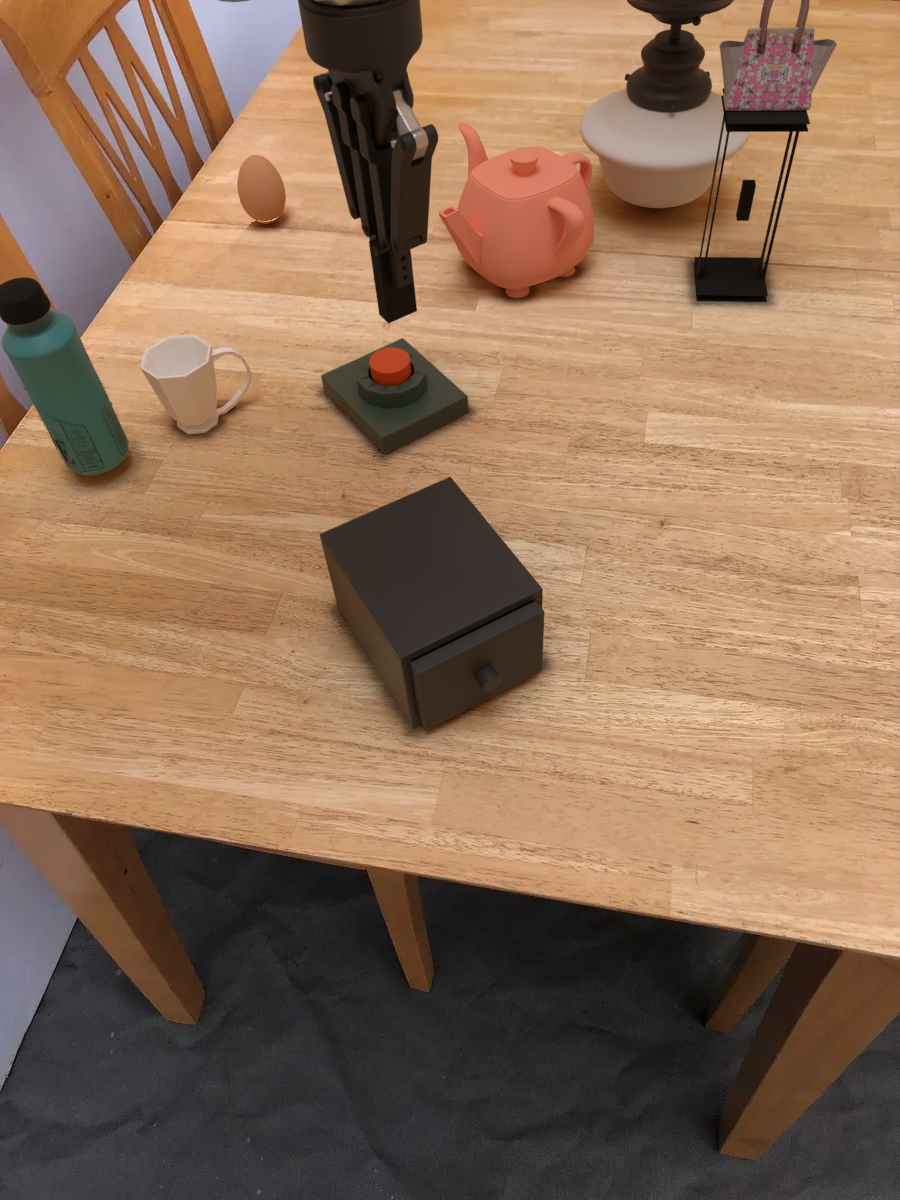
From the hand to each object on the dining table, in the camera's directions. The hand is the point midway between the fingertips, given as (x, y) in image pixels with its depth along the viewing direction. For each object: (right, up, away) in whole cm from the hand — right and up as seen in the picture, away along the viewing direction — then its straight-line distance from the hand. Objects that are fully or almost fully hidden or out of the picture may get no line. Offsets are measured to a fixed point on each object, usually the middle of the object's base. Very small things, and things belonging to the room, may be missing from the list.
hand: (398, 312), depth 75 cm
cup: (-20, -4, +20) cm, 29 cm away
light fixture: (+30, +26, +40) cm, 57 cm away
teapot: (+12, +16, +34) cm, 39 cm away
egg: (-19, +25, +43) cm, 53 cm away
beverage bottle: (-30, -10, +16) cm, 36 cm away
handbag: (+36, +12, +29) cm, 48 cm away
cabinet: (+3, -26, +1) cm, 27 cm away
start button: (-2, -1, +17) cm, 17 cm away
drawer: (+4, -27, -1) cm, 28 cm away
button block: (-1, -3, +20) cm, 20 cm away
